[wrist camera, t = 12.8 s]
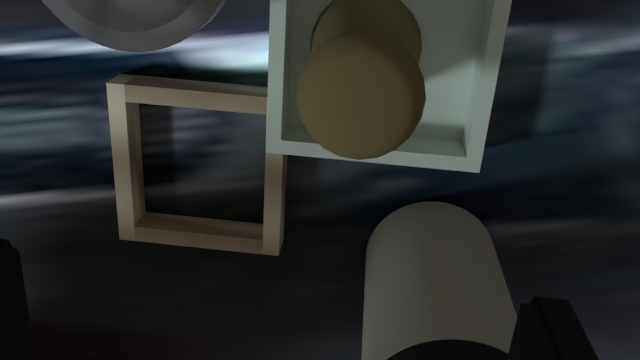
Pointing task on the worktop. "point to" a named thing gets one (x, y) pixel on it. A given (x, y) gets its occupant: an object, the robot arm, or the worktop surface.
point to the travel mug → (434, 288)
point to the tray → (435, 64)
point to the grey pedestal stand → (135, 21)
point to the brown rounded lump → (362, 78)
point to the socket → (129, 166)
